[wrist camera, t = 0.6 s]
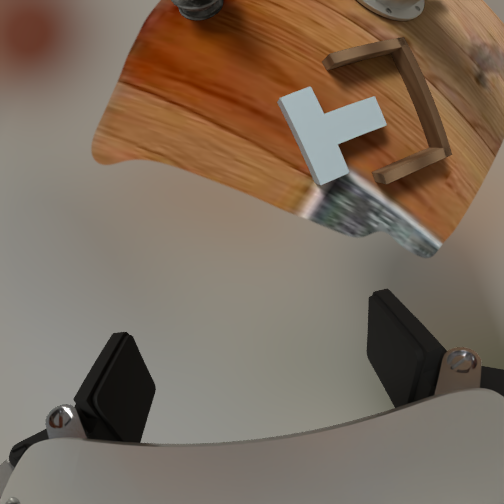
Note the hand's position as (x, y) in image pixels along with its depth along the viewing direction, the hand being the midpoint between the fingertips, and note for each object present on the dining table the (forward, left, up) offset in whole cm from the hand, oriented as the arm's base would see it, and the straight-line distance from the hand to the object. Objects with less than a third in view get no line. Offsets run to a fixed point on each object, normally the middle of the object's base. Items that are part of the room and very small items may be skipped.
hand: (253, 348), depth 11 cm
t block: (-14, -5, -23) cm, 28 cm away
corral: (-21, -5, -23) cm, 32 cm away
